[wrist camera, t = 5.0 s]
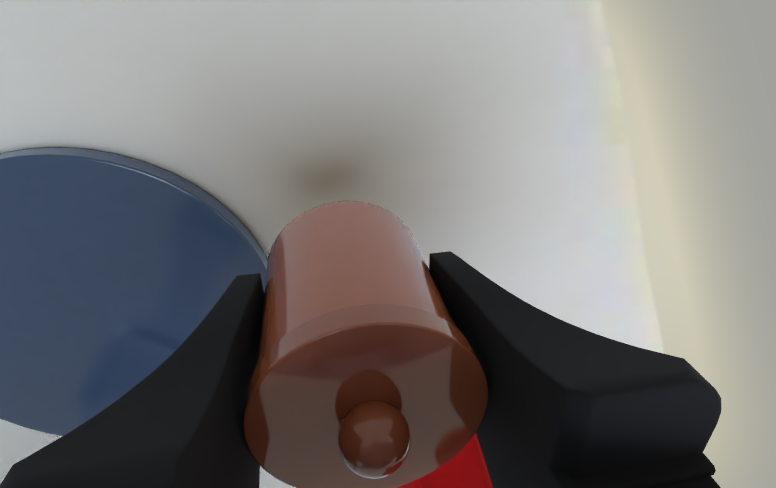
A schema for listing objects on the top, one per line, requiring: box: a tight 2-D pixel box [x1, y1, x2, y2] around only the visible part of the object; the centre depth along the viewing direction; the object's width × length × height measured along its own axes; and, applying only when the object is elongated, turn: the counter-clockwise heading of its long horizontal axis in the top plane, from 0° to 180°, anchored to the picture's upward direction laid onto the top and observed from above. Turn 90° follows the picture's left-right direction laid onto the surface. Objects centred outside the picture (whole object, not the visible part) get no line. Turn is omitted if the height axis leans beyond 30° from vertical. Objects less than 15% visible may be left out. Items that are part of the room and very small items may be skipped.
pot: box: [243, 201, 488, 488], centre depth 11 cm, size 5×5×7 cm
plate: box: [0, 147, 268, 436], centre depth 21 cm, size 16×16×1 cm
